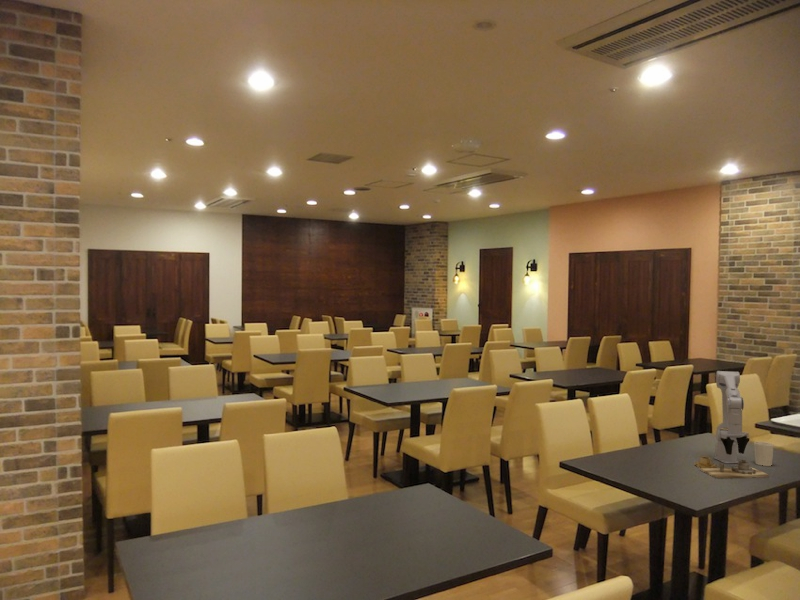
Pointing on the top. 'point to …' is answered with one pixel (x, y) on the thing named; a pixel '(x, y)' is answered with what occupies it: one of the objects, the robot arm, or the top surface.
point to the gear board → (735, 471)
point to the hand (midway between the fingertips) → (735, 453)
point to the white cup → (763, 453)
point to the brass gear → (705, 463)
